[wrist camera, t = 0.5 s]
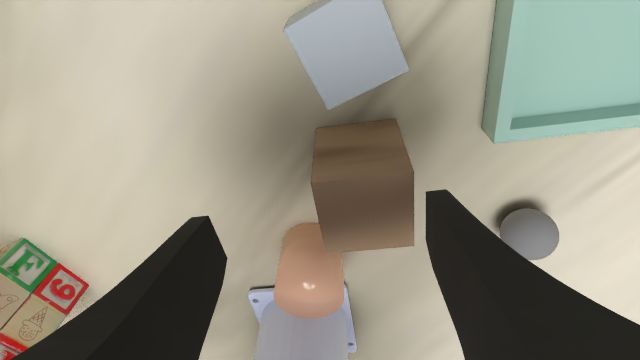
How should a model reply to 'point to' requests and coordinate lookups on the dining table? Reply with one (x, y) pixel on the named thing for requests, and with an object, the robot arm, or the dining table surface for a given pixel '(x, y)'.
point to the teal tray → (562, 68)
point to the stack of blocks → (32, 296)
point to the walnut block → (363, 187)
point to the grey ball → (530, 233)
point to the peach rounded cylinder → (308, 274)
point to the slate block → (346, 47)
